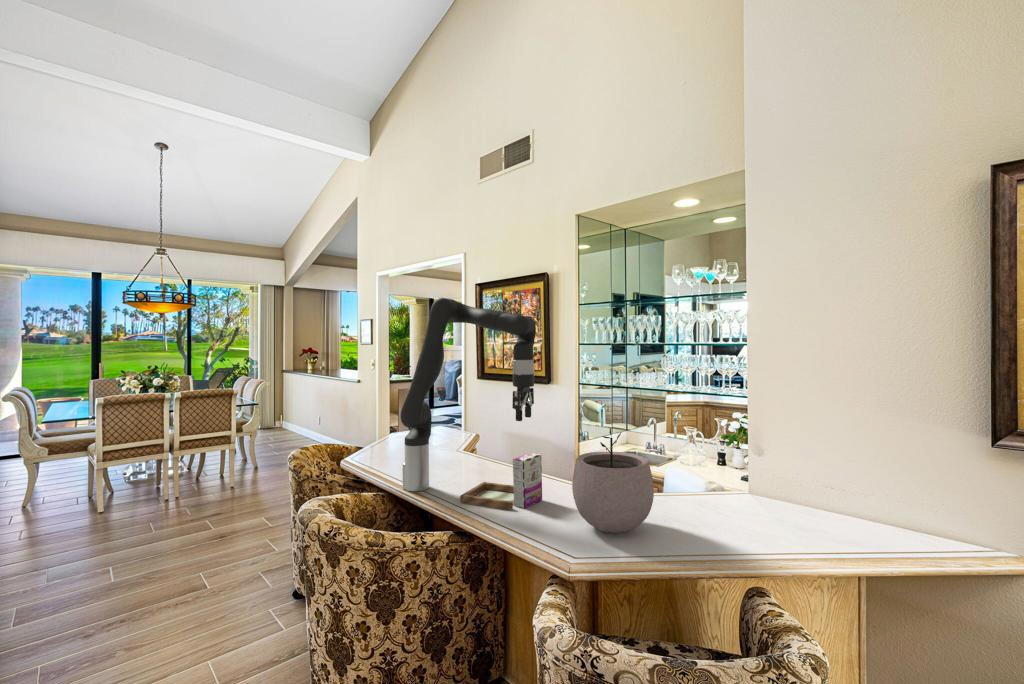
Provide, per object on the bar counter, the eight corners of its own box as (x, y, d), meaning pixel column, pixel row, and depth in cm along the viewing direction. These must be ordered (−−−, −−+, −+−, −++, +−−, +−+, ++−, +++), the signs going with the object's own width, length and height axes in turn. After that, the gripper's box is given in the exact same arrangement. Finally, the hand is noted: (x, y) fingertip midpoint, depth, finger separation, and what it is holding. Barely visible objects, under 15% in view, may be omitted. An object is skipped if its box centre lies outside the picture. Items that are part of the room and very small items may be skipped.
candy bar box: (531, 497, 170) (530, 452, 170) (542, 500, 167) (542, 454, 167) (512, 506, 161) (512, 458, 162) (524, 509, 158) (524, 460, 158)
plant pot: (558, 520, 148) (558, 424, 148) (623, 510, 157) (623, 420, 157) (598, 551, 126) (598, 438, 126) (672, 537, 134) (671, 432, 134)
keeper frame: (460, 502, 165) (460, 495, 165) (483, 488, 182) (483, 481, 182) (510, 510, 157) (510, 502, 157) (530, 494, 174) (530, 487, 174)
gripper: (521, 371, 173) (521, 415, 172) (505, 373, 159) (505, 421, 159) (540, 371, 170) (540, 416, 169) (525, 374, 156) (526, 423, 156)
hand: (523, 419), depth 164 cm, fingers open, 8 cm apart
